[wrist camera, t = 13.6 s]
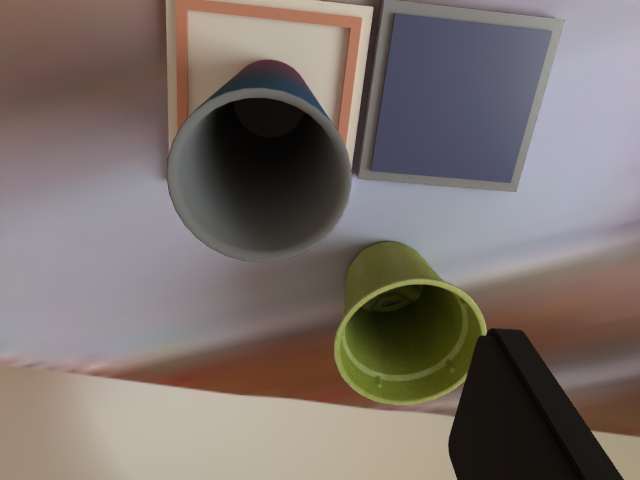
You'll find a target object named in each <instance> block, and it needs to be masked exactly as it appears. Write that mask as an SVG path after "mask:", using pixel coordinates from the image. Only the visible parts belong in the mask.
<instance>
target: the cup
mask: <svg viewBox="0 0 640 480" xmlns="http://www.w3.org/2000/svg"><path fill="white" fill-rule="evenodd" d="M167 182H168V189H169V194H170V197H171V200H172V202H173V205H174V208H175V210H176V212H177V213H178V215H179V217H180V218H181V220H182V221H183V223H184V225H185V226H186V227H187V228H188V229H189V230H190V231H191V232H192V233H193V234H194V236H195V237H196V238H198V239H199V240H200V241H202V242H203V243H204V244H206V245H207V246H208V247H210V248H212V249H214V250H216V251H217V252H219V253H221V254H223V255H226V256H229V257H232V258H235V259H239V260H243V261H251V262H275V261H279V260H284V259H288V258H292V257H294V256H297V255H299V254H301V253H304V252H306V251H308V250H309V249H311V248H312V247H314V246H315V245H317V244H318V243H320V242H321V241H322V240H323V239H324V238H325V237H326V236H327V235H328V234H329V233H330V232H331V231H332V230H333V229H334V227H335V226H336V224H337V223H338V221H339V220H340V219H341V217H342V215H343V212H344V210H345V208H346V206H347V203H348V199H349V195H350V190H351V164H350V159H349V155H348V151H347V149H346V146H345V144H344V142H343V139H342V137H341V135H340V134H339V132H338V131H337V129H336V128H335V126H334V125H333V123H332V122H331V120H330V119H329V117H328V116H327V114H326V113H325V111H324V110H323V108H322V107H321V105H320V104H319V102H318V101H317V99H316V98H315V96H314V95H313V93H312V92H311V90H310V89H309V87H308V86H307V84H306V83H305V81H304V80H303V78H302V77H301V75H300V74H299V73H298V72H297V71H296V70H295V69H294V68H292V67H291V66H289V65H288V64H286V63H283V62H281V61H277V60H260V61H256V62H253V63H251V64H249V65H247V66H246V67H245V68H244V69H242V70H241V71H240V72H239V73H237V74H236V75H235V76H234V77H233V78H232V79H230V80H229V81H228V82H227V83H226V84H225V85H223V86H222V87H221V88H220V89H219V90H218V91H216V92H215V93H214V94H213V95H212V96H211V97H209V98H208V99H207V100H206V101H205V102H204V103H202V104H201V105H200V106H199V107H198V108H197V109H196V110H194V111H193V112H192V113H191V114H190V116H189V117H188V118H187V119H186V120H185V122H184V123H183V124H182V125H181V126H180V128H179V130H178V132H177V134H176V136H175V138H174V140H173V142H172V145H171V148H170V152H169V156H168V160H167Z"/></svg>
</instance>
